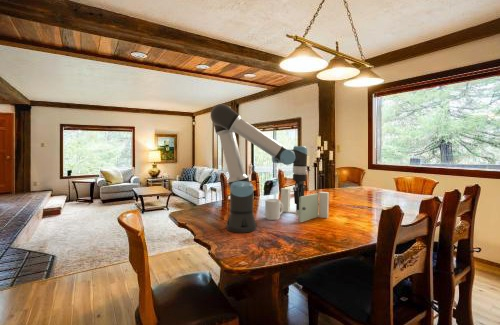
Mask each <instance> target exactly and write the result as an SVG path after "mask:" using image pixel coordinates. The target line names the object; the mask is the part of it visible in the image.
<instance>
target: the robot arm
mask: <svg viewBox="0 0 500 325" xmlns="http://www.w3.org/2000/svg"><path fill="white" fill-rule="evenodd" d="M210 119H211V121H212V124H213V125H214V126H213V127H214V131H215V134H216V135H218V136H219V139H220V144H221V147H222V151H223V155H224V159H225V163H226V166H227V170H228V171H227V172H228V175H229V179H228V180H227V182H228V187H229V191H230V198H229V199H230V202H229V210H230V211H229V212H230V213H229V216H228V219H227V223H226V230H227V231H228V232H231V233H241V234H243V233H251V232H255V231H256V230H257V222H256V218H255V216H254V190H255V189H254V184H253V183H252V182H251V181H250V178H249V175H247V174H246V173H245V168H244V165H243V164H244V163H243V161H242V157H241V153H240V148H239V145H238V144H239V143H238V141H237V140H238V139H237V137H236V134H237V135H238V136H240V137H242V138H243V139H245V141H248V142H250V143H251V144H253V145H254V146H255V147H256V148H259V149H260V150H262V151H263V152H265V153H266V154H268V155H269V156H271V161H272V163H275V164H283V165H284V166H285V165H286V166H288V165H291V164H292V165H293V166H292V173H293V174H292V181H294V183H295V184H294V186H292V187H293V188H292V190H293V198H294V204H295V211H296V214H295V216H298V217H299V197H301V196H305V189H306V185H305V184H304V182H307V176H308V175H307V170H308V166H307V165H308V162H307V161H308V148H307V146H305V145H304V146H303V145H299V146H298V145H294V146H293V149H289V148H287V147H285V145H283V144H281V143H280V142H279V141H276V140H275V139H273V138H272V137H271V136H269V135H268V134H266V133H265V132H263V131H261V130H260V129H258V128H257V127H255V126H254V125H252V124H250V123H249V122H248V121H246V120H245V119H243V118H242V117H241V114H239V113H238V112H236V111H235V110H234V109H232V107H230V106H229V105H227V104H224V103H218V104H217V105H214V107H213V108H212V109H211V111H210Z"/></svg>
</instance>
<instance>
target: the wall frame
mask: <svg viewBox="0 0 500 325" xmlns="http://www.w3.org/2000/svg"><path fill="white" fill-rule="evenodd" d="M318 192H319V196H318V218H323V219H328V218H329V212H330V211H329V206H330V204H329V203H330V192H327V191H318ZM280 202H281V203H282V204H283V207H282V205H280V212H281V211H282V210H283V212H282V213H289V214H295V215H296V210H291V188H285V187H282V188H280Z"/></svg>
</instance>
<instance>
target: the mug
mask: <svg viewBox="0 0 500 325" xmlns="http://www.w3.org/2000/svg"><path fill="white" fill-rule="evenodd" d="M264 201H265V206H264V217H265V219H266V220H269V221H277V220H279V219H280V217H281V215H282V214H283V213H284V212H283V210H282V211H281V205H282V207H283V204H282V203H281V199H278V198H267V199H265V200H264Z"/></svg>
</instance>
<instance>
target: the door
mask: <svg viewBox="0 0 500 325" xmlns="http://www.w3.org/2000/svg"><path fill="white" fill-rule="evenodd" d="M319 192H320V191H318V190H317V191H316V193H312V194H305V195H304V196H301V197H299V216H298V223H300V224H301V223H303V222H307V221H308V220H312V219H315V218H319V217H318V215H319Z"/></svg>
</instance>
